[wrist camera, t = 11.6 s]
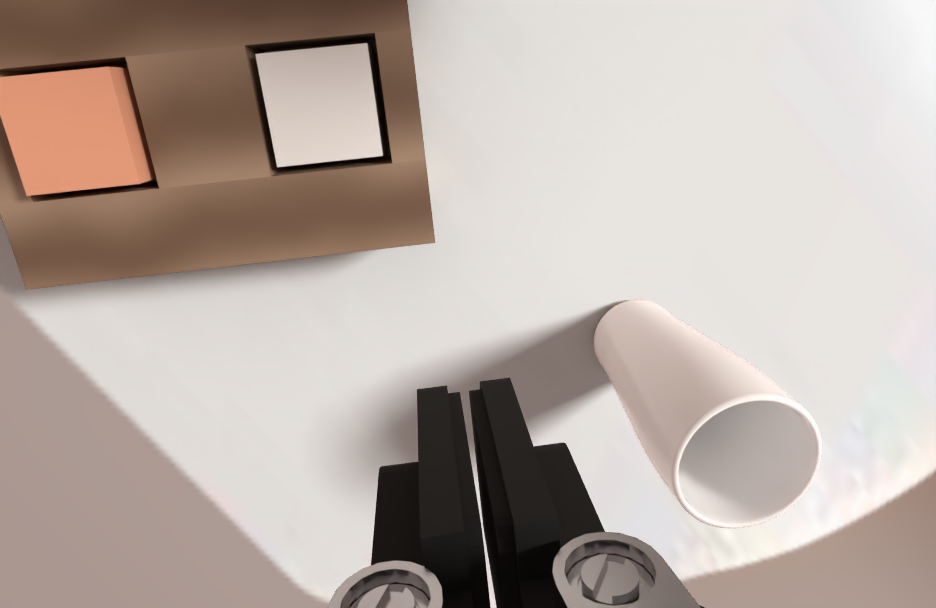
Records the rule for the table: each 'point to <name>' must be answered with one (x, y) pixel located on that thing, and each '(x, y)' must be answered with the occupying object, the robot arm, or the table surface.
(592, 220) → the table surface
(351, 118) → the white plug
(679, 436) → the drinking glass
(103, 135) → the terracotta plug
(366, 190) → the walnut block
